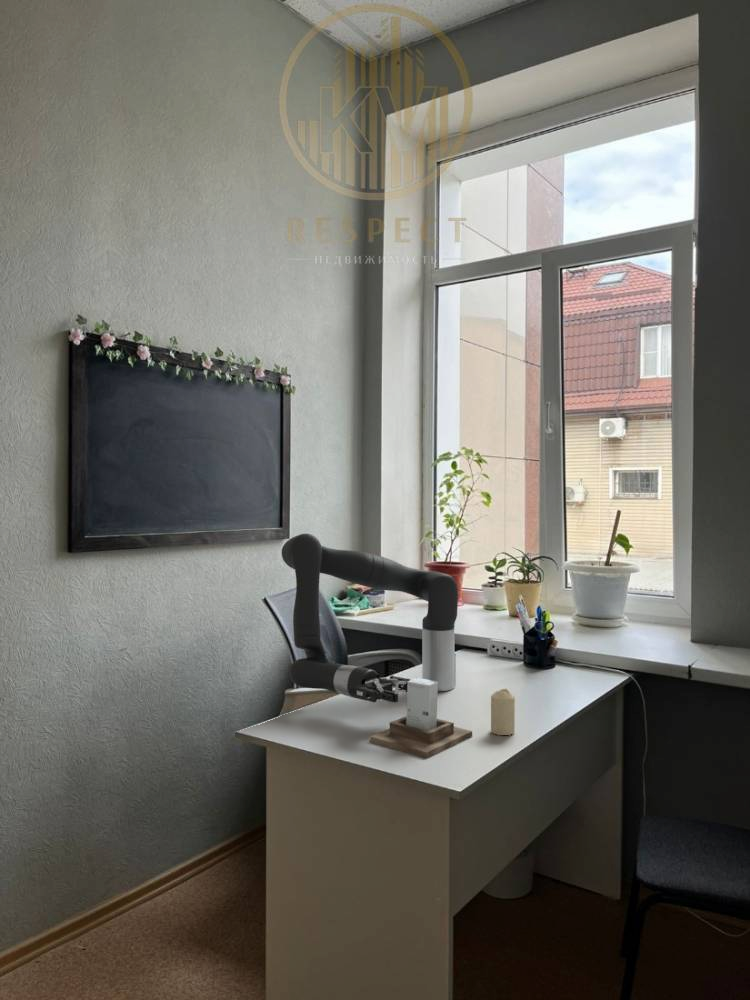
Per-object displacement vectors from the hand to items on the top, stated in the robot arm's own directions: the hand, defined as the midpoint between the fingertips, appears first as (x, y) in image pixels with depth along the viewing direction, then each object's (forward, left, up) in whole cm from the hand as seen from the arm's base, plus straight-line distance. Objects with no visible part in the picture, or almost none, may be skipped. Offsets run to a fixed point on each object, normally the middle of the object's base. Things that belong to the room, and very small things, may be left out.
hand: (408, 694), depth 172 cm
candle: (-16, +16, -10) cm, 25 cm away
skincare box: (0, +4, -9) cm, 9 cm away
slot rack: (0, +4, -10) cm, 10 cm away
